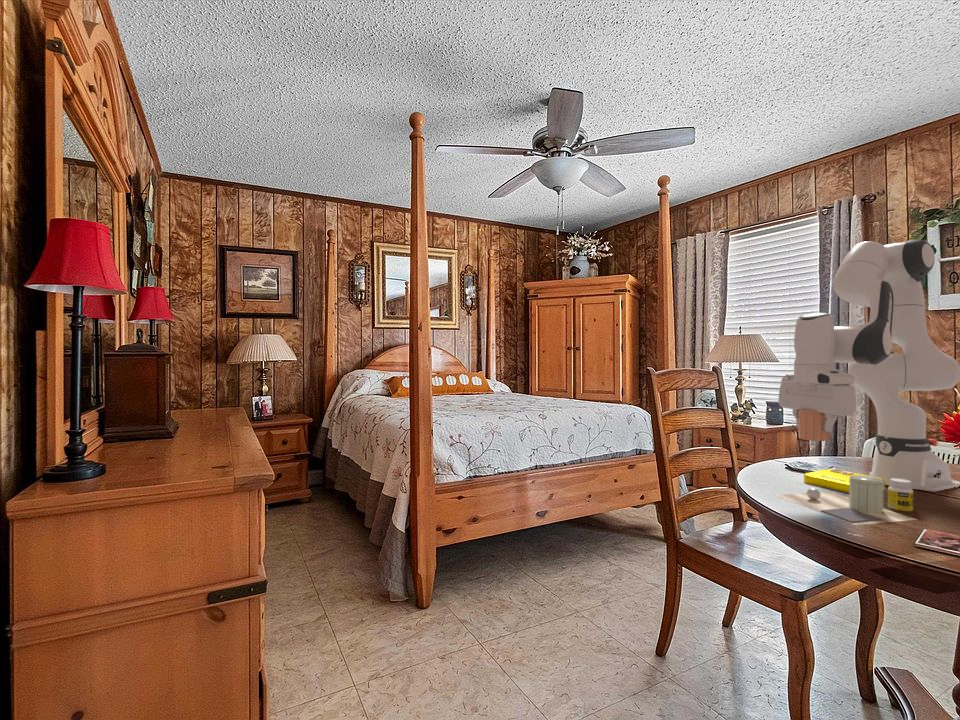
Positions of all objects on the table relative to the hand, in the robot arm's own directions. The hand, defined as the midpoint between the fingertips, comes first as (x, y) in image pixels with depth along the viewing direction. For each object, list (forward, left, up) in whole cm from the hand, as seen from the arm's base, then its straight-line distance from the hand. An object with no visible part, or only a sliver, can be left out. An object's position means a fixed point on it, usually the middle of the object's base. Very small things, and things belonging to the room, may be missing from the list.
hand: (813, 428), depth 127 cm
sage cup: (-6, +9, -19) cm, 22 cm away
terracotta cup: (0, 0, -3) cm, 3 cm away
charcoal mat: (+2, +12, -19) cm, 22 cm away
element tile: (-20, -10, -21) cm, 31 cm away
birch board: (-2, +6, -20) cm, 21 cm away
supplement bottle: (-15, +10, -20) cm, 27 cm away
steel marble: (0, 0, -17) cm, 17 cm away
